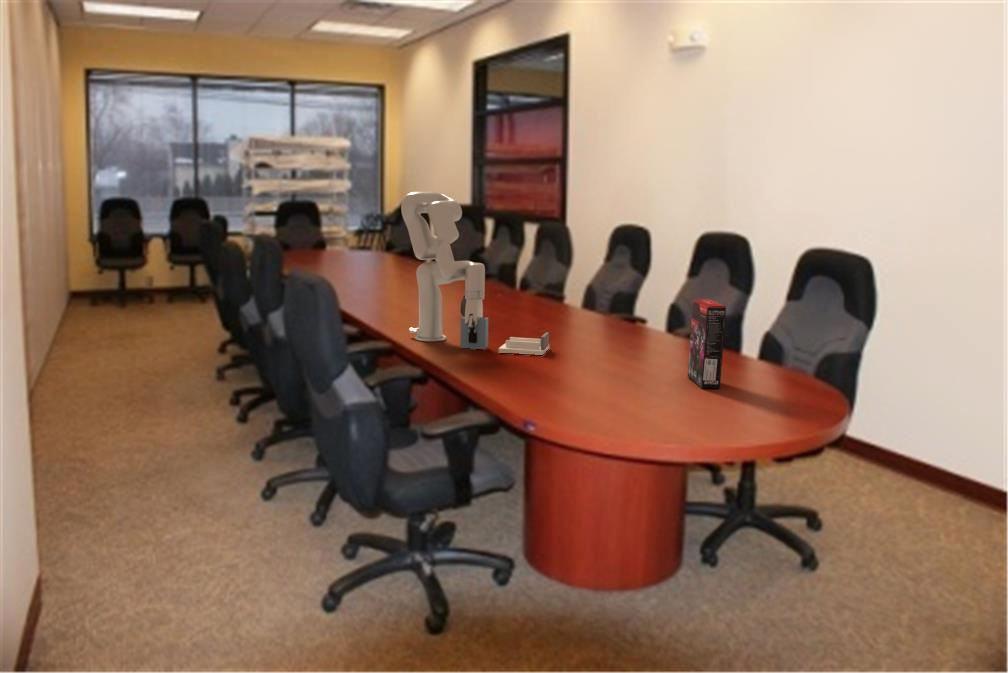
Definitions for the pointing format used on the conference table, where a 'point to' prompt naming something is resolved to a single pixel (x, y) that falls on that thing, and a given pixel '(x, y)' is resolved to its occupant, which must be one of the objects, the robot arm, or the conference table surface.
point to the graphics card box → (706, 343)
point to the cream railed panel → (526, 345)
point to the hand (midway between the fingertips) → (474, 341)
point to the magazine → (463, 306)
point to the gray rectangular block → (481, 334)
